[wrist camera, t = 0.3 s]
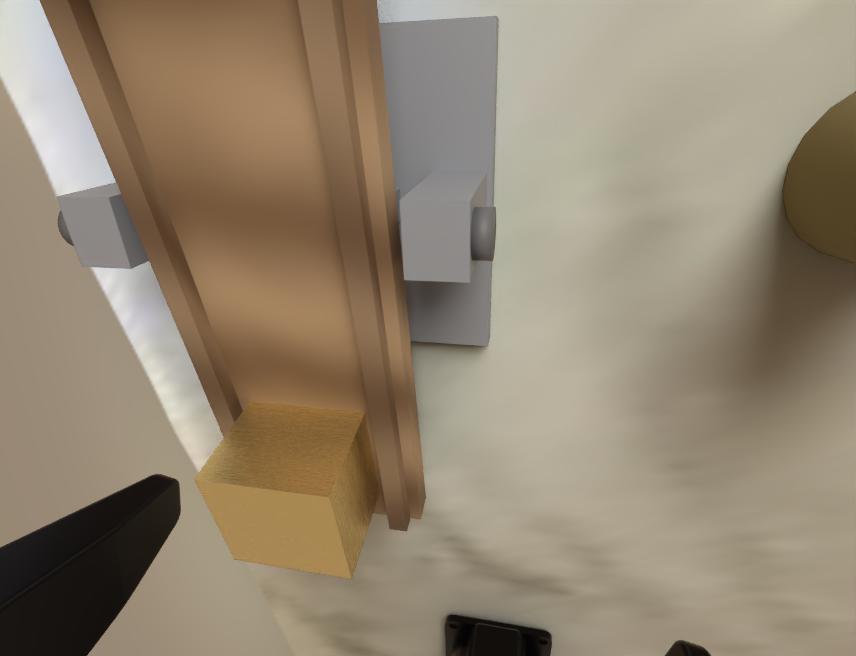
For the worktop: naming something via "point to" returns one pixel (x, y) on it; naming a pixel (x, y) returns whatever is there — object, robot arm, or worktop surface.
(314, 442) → the block
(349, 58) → the balance beam
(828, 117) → the cork
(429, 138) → the pivot stand
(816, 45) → the worktop surface
